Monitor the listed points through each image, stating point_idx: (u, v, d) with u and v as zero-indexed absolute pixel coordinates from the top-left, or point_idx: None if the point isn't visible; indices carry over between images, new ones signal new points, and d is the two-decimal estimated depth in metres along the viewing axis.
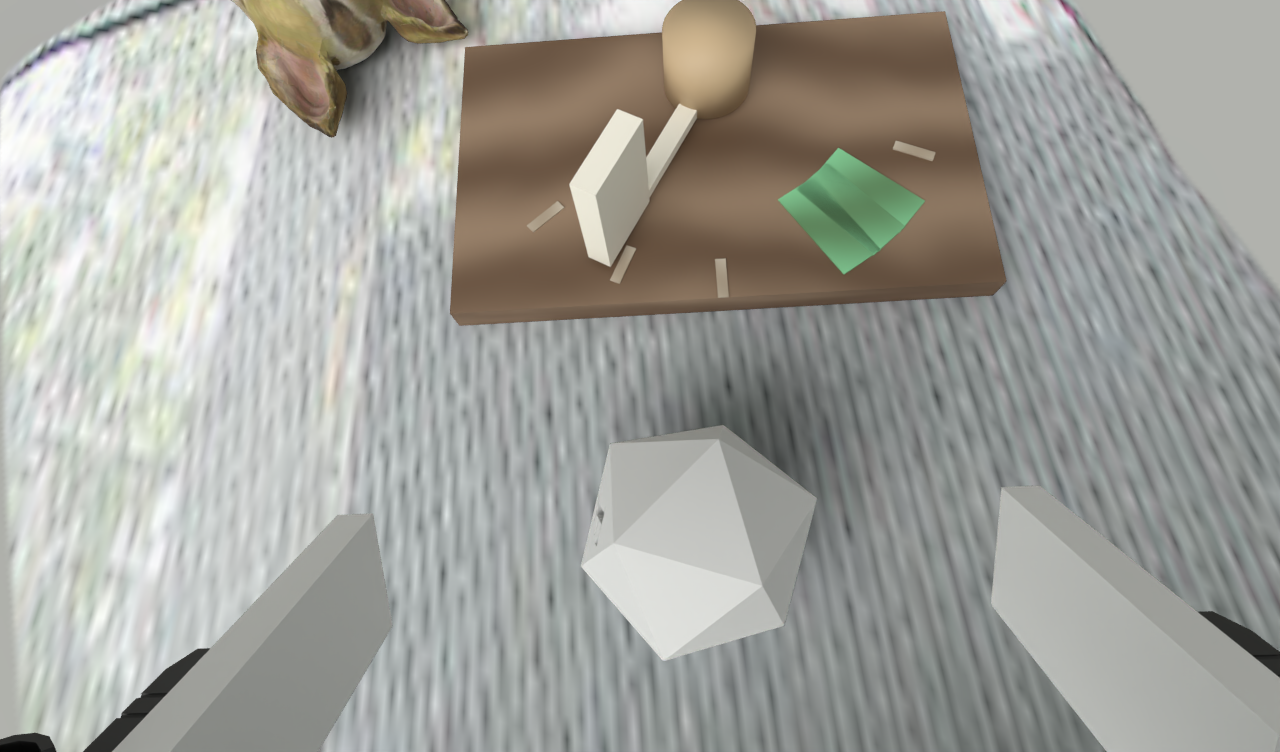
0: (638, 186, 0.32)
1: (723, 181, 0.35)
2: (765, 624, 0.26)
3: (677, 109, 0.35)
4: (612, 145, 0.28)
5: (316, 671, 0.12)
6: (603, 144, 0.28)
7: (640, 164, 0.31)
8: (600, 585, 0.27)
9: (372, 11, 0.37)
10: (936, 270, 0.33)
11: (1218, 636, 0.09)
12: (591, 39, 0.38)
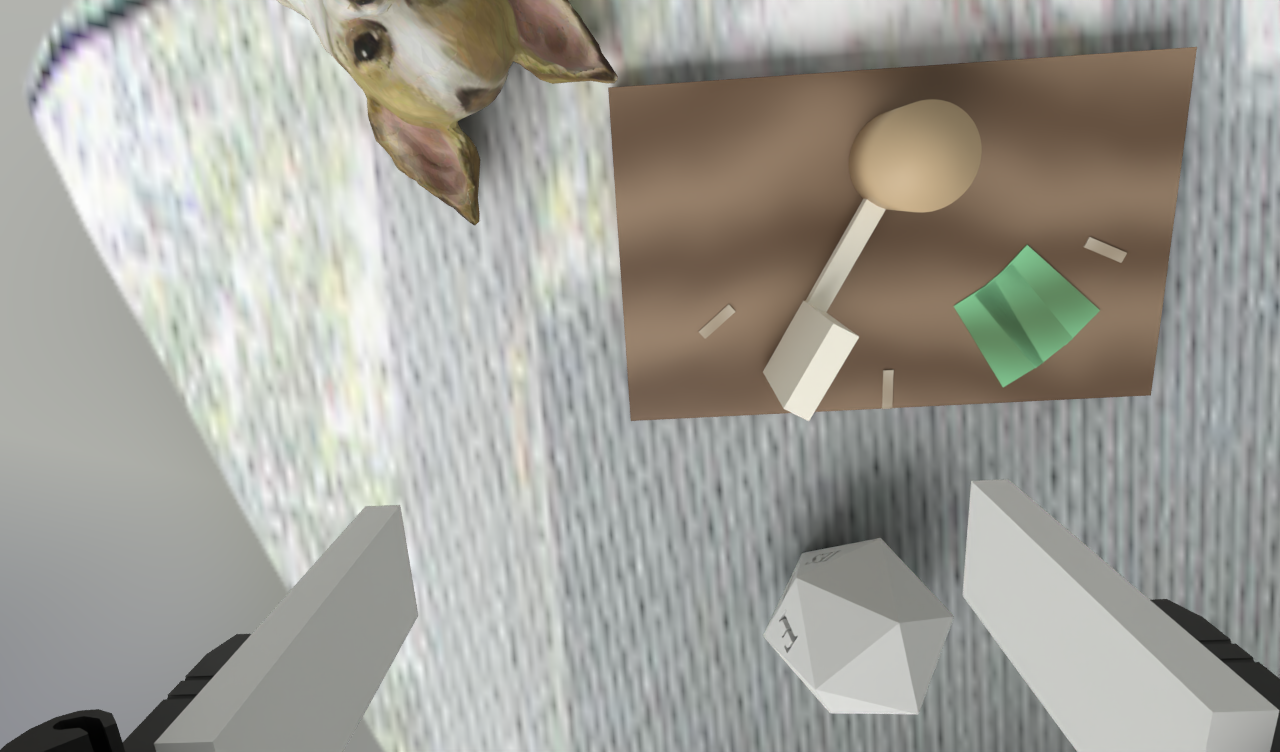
0: None
1: (900, 282, 0.34)
2: None
3: (864, 207, 0.32)
4: (827, 366, 0.28)
5: (350, 656, 0.12)
6: (818, 365, 0.28)
7: None
8: (781, 656, 0.37)
9: (505, 71, 0.30)
10: (1089, 383, 0.35)
11: (1165, 621, 0.10)
12: (762, 79, 0.32)
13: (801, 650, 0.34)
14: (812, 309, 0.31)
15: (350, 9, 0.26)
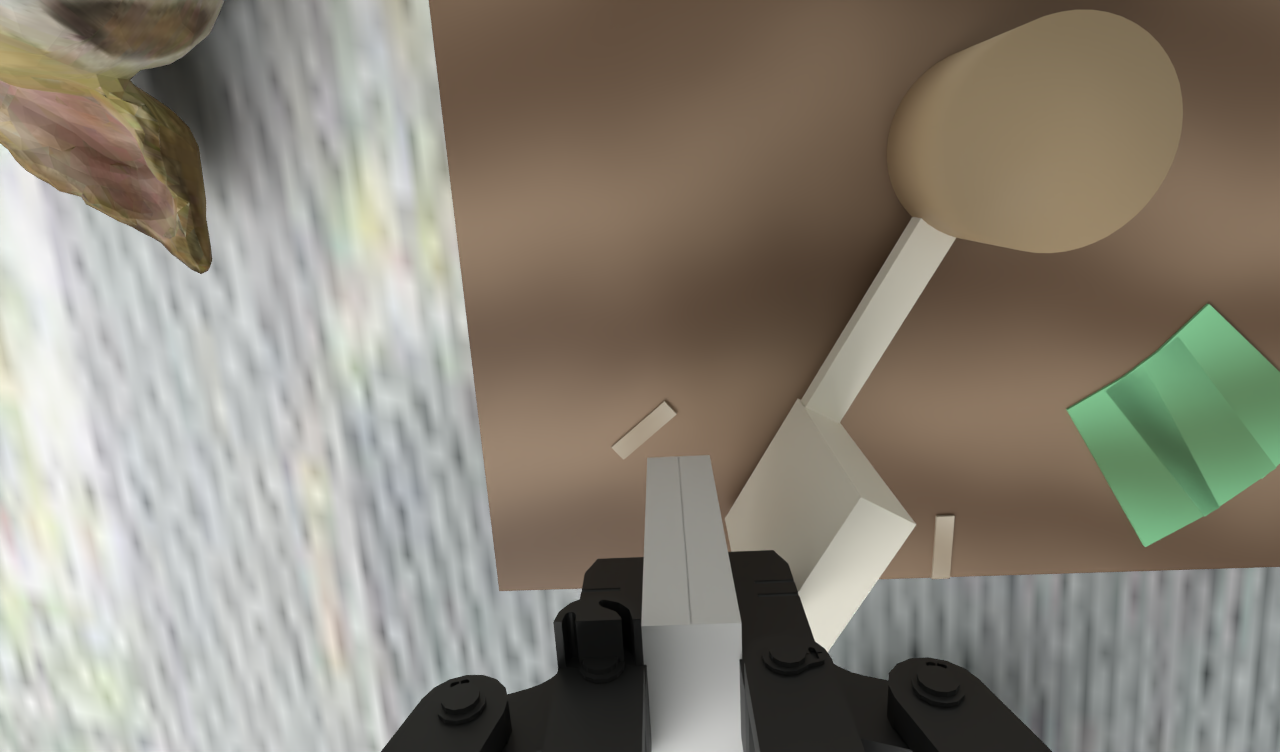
0: None
1: (973, 367, 0.19)
2: None
3: (915, 233, 0.17)
4: (845, 582, 0.13)
5: None
6: (826, 579, 0.13)
7: None
8: None
9: None
10: None
11: (723, 562, 0.12)
12: None
13: None
14: (814, 429, 0.16)
15: None
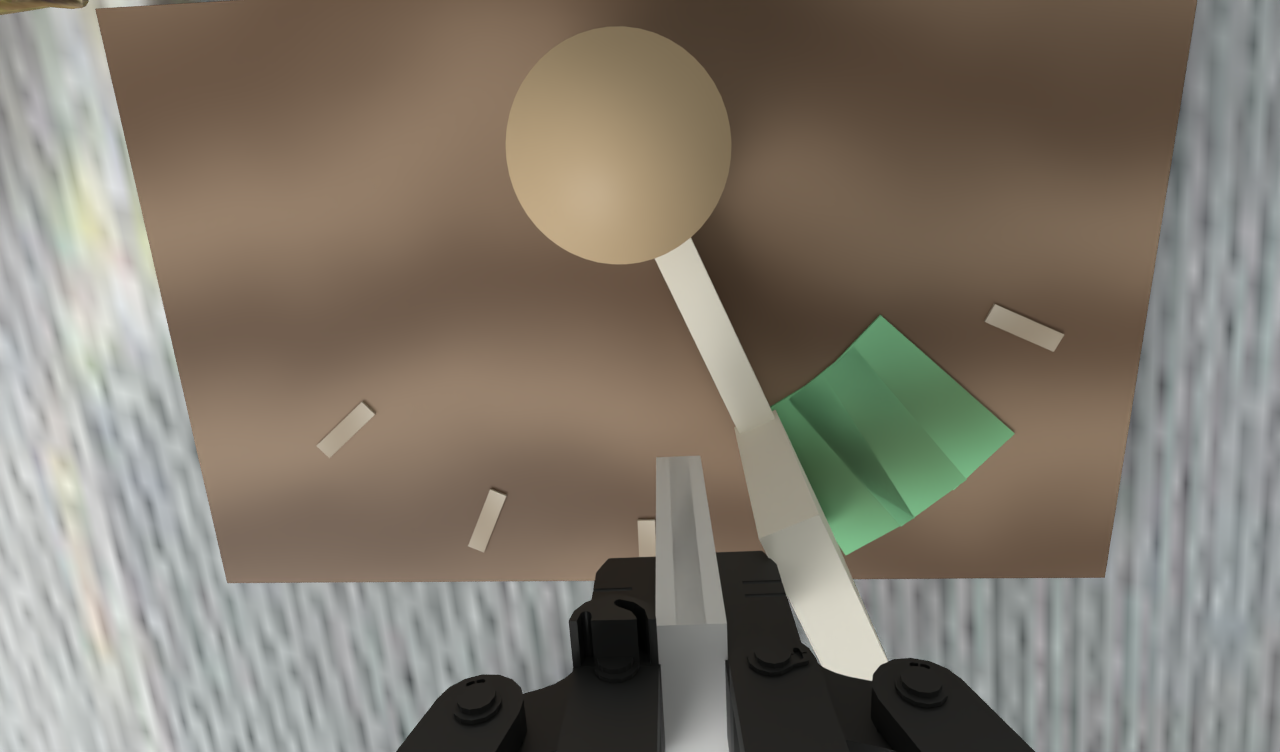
0: (803, 473, 0.16)
1: (657, 374, 0.19)
2: None
3: (659, 259, 0.17)
4: (826, 596, 0.13)
5: None
6: (813, 607, 0.13)
7: (806, 481, 0.15)
8: None
9: None
10: (997, 554, 0.20)
11: (710, 562, 0.12)
12: None
13: None
14: None
15: None
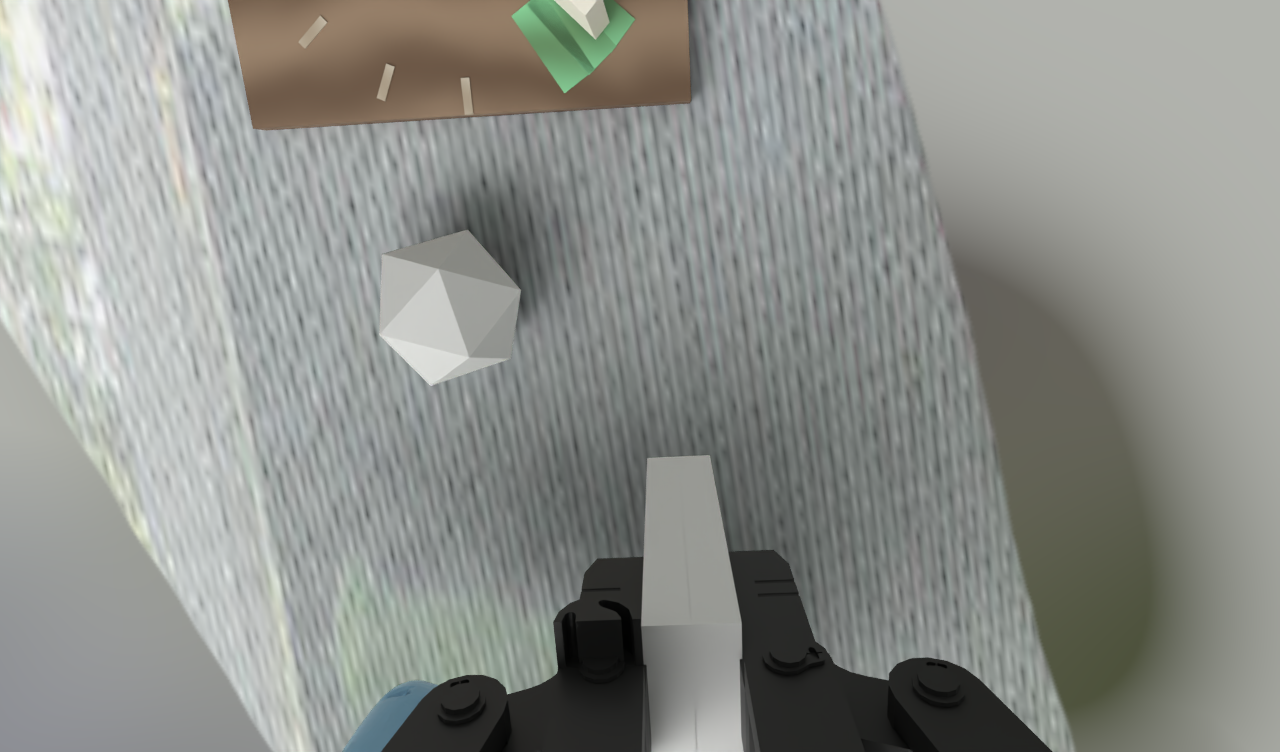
0: None
1: None
2: (493, 362, 0.42)
3: None
4: None
5: None
6: None
7: None
8: None
9: None
10: (637, 89, 0.40)
11: (723, 562, 0.12)
12: None
13: None
14: None
15: None
